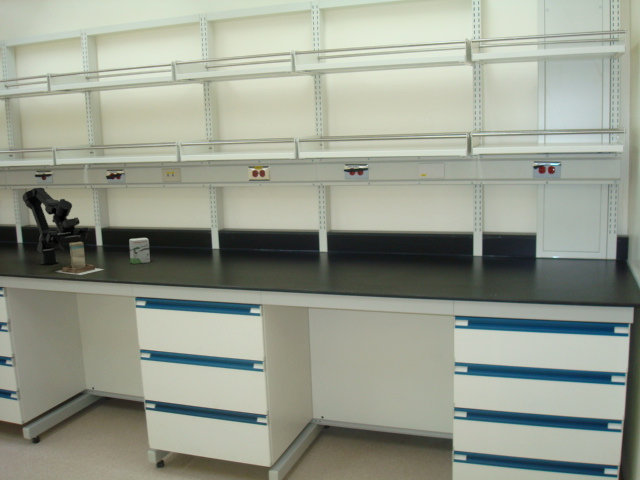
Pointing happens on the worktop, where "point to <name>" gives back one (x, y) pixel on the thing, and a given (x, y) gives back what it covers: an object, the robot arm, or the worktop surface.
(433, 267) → the worktop surface
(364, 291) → the worktop surface
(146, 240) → the ink box
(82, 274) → the mat
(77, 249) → the tan box
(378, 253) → the worktop surface
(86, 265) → the brown wooden tray
